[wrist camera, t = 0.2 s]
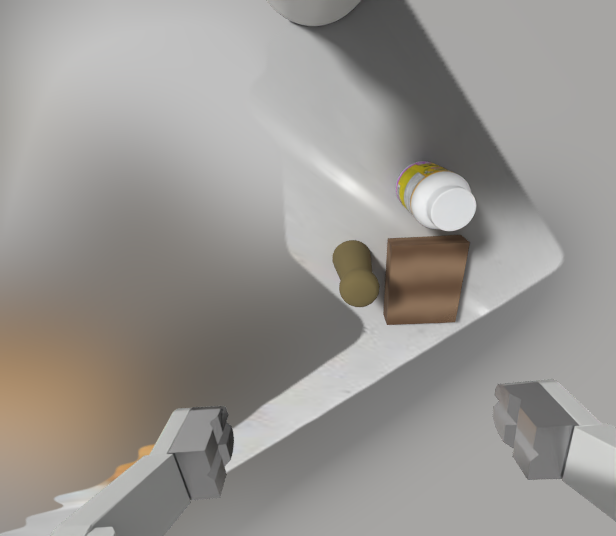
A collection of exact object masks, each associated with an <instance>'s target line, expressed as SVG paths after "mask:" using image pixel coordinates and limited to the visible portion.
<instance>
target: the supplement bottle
mask: <svg viewBox="0 0 616 536" xmlns="http://www.w3.org/2000/svg"><path fill="white" fill-rule="evenodd" d="M396 194H397V197H398V199H399V201H400V202H401V203H402V205H403V206H404V207H405V208H406V209H407V210H408V211H409V212H410V213H411V214H412V215H413V216H414V217H415V219H416V220H417V221H418V222H419V223H420V224H422V225H423V226H425V227H427V228H431V229H441V230H444V231H455V230H458V229H461V228H462V227H464V226H465V225H467V224H468V223H469V222H470V221H471V219H472V218H473V216H474V214H475V211H476V200H475V198H474V196H473V194H472V193H471V189H470V186H469V184H468V183H467V181H466V180H465V179H464V178H463V177H461V176H460V175H458V174H456V173H454V172H451V171H449V170H447V169H445V168H443V167H441V166H438V165H436V164H434V163H431V162H427V161H419V162H415V163H413V164H411V165H409V166H407V167H406V168H405V169H404V170H403V171H402V172H401V174H400V175H399V177H398V179H397V182H396Z"/></svg>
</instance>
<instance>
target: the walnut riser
mask: <svg viewBox="0 0 616 536" xmlns="http://www.w3.org/2000/svg"><path fill="white" fill-rule="evenodd" d="M469 244H470V242H469V241H468V240H466V239H465V238H464V237H463V236H462V235H450V236H430V237H410V238H390V239H388V243H387V261H386V278H385V296H384V313H383V314H384V317H385V320H386V323H387V325H397V324H422V323H447V322H455V320H456V315H457V310H458V304H459V299H460V293H461V288H462V282H463V277H464V271H465V266H466V260H467V255H468V249H469Z"/></svg>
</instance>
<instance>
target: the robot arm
mask: <svg viewBox="0 0 616 536" xmlns="http://www.w3.org/2000/svg"><path fill="white" fill-rule="evenodd" d="M266 1H267V2H268V3H269V4H270V5H271V7H273V9H274V10H276V11H277V12H278V13H279V14H280V15H282V16H283V17H285V18H286V19H288V20H290V21H292V22H295V23H298V24H301V25H306V26H321V25H326V24H329V23H332V22H335V21H337V20H339V19H341V18H342V17H344V16H345V15H347V14H348V13H349V12H350V11H352V10H353V9H354V8H355V7H356V6H357V5H358V3H359V2H360V1H361V0H266ZM495 396H496V397H497V399H498V400H499V402H498V403H497V404H496V405H495V406H494V407H493V419H494V423H495V427H496V429H497V431H498V434H499V435H500V437H501V439H502V440H503V442H504V443H506V444H508V445H509V446H510V447H512V448H514V451H513V458H514V459H515V461H516V462H517V464H518V465H519V467H520V469H521V470H522V472H523V473H524V475H525V476H526V478H527V479H528V480H535V479H562V481H564V482H565V483H566V484H568V485H569V486H570V487H571V488H573V489H574V490H575V491H577V492H578V493H579V494H580V495H582V496H583V497H585V498H586V499H587V500H588V501H590V502H591V503H593V504H594V505H595V506H596V507H597V508H599V509H600V510H601V511H603V512H604V513H606V514H607V515H608V516H609V517H611V518H612V519H613V520H615V521H616V427H614V426H612V425H610V424H602V423H601V422H600V421H599V420H598V419H597V418H595V416H593V415H592V414H591V413H590V412H589V411H588V410H587V409H586V408H585V407H584V406H583V405H582V404H581V403H580V402H579V401H578V400H577V399H576V398H575V397H574V396H573V395H572V394H571V393H569V392H568V391H567V390H566V389H565V388H564V387H563V386H562V385H561V384H560V383H559V382H558V381H556V380H554V379H548V380H538V381H528V382H517V383H505V384H498V385H497V387H496V389H495ZM227 418H228V412H227V409H226V407H225V406H210V407H193V408H180V409H176V410H175V411H174V412H173V413H172V415H171V417H170V418H169V420H168V422H167V424H166V426H165V428H164V430H163V431H162V433H161V435H160V437H159V439H158V440H157V442H156V444H155V446H154V448H153V449H152V451H151V453H150V455H146V456H143V457H142V458H141V459H140V460H138V461H137V462H136V463H135V464H133V465H132V466H131V467H130V468H129V469H127V470H126V471H125V472H124V473H122V474H121V475H120V476H119V477H117V478H116V479H115V480H114V481H112V482H111V483H110V484H109V485H108V486H106V487H105V488H104V489H103V490H101V491H100V492H99V493H98V494H96V495H95V496H94V497H93V498H92V499H90V500H89V501H88V502H87V503H85V504H84V505H83V506H82V507H80V508H79V509H78V510H77V511H75V512H74V513H73V514H72V515H71V516H69V517H68V518H67V519H66V520H64V521H63V522H62V523H61V524H59V525H58V526H57V527H56V528H55V529H54V531H53V532H52V533H51V535H50V536H164V535H165V534H166V532H167V531H168V530H169V529H170V528H171V526H172V525H173V524H174V522H175V521H176V520H177V519H178V517H179V516H180V515H181V514H182V513H183V511H184V510H185V509H186V508H187V506H188V505H189V504H190V503H191V501H190V500H198V499H210V498H220V496H221V492H222V489H223V485H224V482H225V478H226V475H227V474H226V471H225V467H224V466H225V465H226V464H227V463H228V462H229V461H230V460H231V457H232V453H233V445H234V436H233V430H232V426H231V425H229V424H228V423H227Z"/></svg>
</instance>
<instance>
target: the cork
mask: <svg viewBox="0 0 616 536" xmlns="http://www.w3.org/2000/svg"><path fill="white" fill-rule="evenodd" d="M333 264H334V266H335V269H336V271H337V273H338V275H339V278H340V280H341V282H340V287H339V290H340V294H341V297H342V298H343V299H344V301H345V302H346V303H348V304H349V305H351V306H355V307H364V306H367V305H369V304H371V303H372V302H373V301H374V300H375V299H376V298H377V296H378V294H379V283H378V280H377V278H376V277H375V275H374V274H373V273H372V265H371V254H370V251H369V249H368V247H367V246H366V245H365V244H363V243H362V242H359V241H356V240H349V241H346V242H343V243H342V244H340V245H339V246H338V247H337V248H336V249H335V251H334V253H333Z"/></svg>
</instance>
